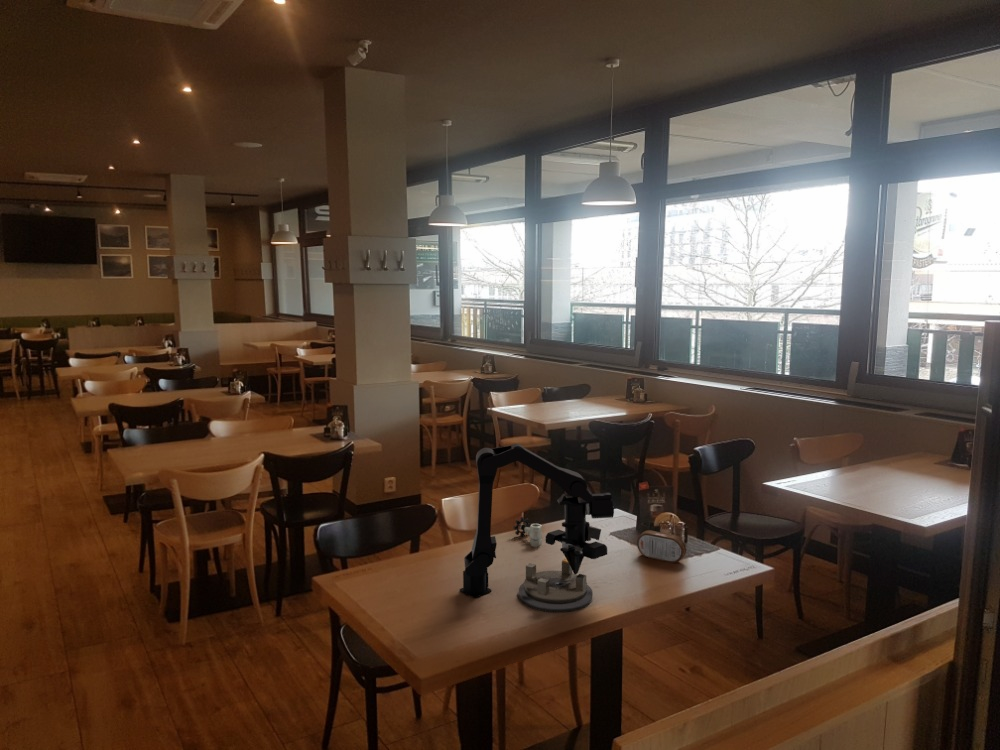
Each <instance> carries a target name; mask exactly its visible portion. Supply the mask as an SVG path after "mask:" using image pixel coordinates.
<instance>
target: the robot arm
mask: <svg viewBox="0 0 1000 750" xmlns="http://www.w3.org/2000/svg"><path fill="white" fill-rule="evenodd" d="M475 462H476V470H477V476H478V496H477V497H478V500H477V501H478V502H477V519H476V521H477V522H476V532H475V535H474V538H473V543H472V547H471V551H469V553H467V555H466V556H464V570H463V571H462V585H463V587H461V588H459V592H461V593H463V594H464V595H467V596H469V597H471V598H474V599H476V598H478V597H481V596H483V595H486V594H488V593H491V592H492V588H489V573H488V568H490V567H491V565H493V563H494V559H497V555H496V549H497V539H496V536H495V535H494V536H492V535H491V529H492V528H491V526H492V510H493V509H492V507H493V506H492V505H493V488H494V482H495V479H496V475H497V472H498V468H503V467H505V466H507V465H510V464H513V463H515V462H519V463H521V464H523V466H526V467H528V468H529V469H532V470H533V471H535V472H536V473H538V474H540V475H542V476H544V477H546V478H548V479H549V480H551V481H553V482H554V483H555V484H556V485H557V486H558V487H560V489H562V490H563V491H564V492H565V493H566V494H567V495H569V496H566V494H565V493H562V494H561V496H560V497H559V498H557V502H558V504H559V505H562V506H564V521H563V522H561V527H563V528H564V530H563V529H562V530H561V529H555V530H553V531H549V532H547V534H546V535H545V544H548V545H550V546H553V545H555V543H556V542H559V543H561V548H560V549H559V550H560V552H562V554H563V555H564V557H565V559H567V561H568V563H569V565H570V567H571V569H572V573H573V574H576V575H578V574H579V571H580V568H581V565H582V563H583V560H584V558H588V559H590V560H596V559H599V558H602V557H604V556H607V555H608V546H607V544H605V543H603V542H598V541H600V538H601V532H602V529H601V528H598V527H596V526H592V525H590V522H589V521H587V520H586V518H587V516H590V518H591V519H611V518H614V515H615V507H614V504H613V498H612V494H611V493H610V492H603V493H592V492H591V490H590V489H589V488H588V484H587V481H586V480H585V478H584V477H583V476H582V475H581V474H580V473H579V472H577V471H573V470H571V469H568V468H564V467H560V466H558V465H555V464H554V463H552V462H551V461H548V460H547V459H545V458H543V457H541V456H539V455H538V454H536V453H535V452H533V451H531V450H529V449H528V448H526V447H525V446H523V445H522V444H520V443H514V444H511V445H505V446H497V447H494V448H490V447H483V448H480V449H479V450H478V451H477V453H476V455H475ZM586 514H587V516H586ZM592 539H594V540H596V541H593V542H591V541H592ZM589 542H590V543H589Z"/></svg>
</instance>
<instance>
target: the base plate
mask: <svg viewBox="0 0 1000 750" xmlns="http://www.w3.org/2000/svg"><path fill="white" fill-rule="evenodd" d="M593 598H594V597H593V589H592V587H591V586H590V585H589V584H587V594H586V595H585V597H583V598H582V599H580V600H578V601H575V602H571V603H564V604H552V603H544V602H540V601H537V600H534V599H532V598H530V597H529V596H527V595H526V593H525V591H524V582H522V583H521V584H520V586H519V588H518V599H519V600H520V601H521V602H522V604H524V605H526V606H527V607H529V608H532V609H534V610H538V611H540V612H541V611H542V612H546V613H568V612H574V611H578V610H581V609H584V608H585V607H588V606H589V605H590V604H591V602H592V601H593Z"/></svg>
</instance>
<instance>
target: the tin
mask: <svg viewBox="0 0 1000 750" xmlns="http://www.w3.org/2000/svg"><path fill="white" fill-rule="evenodd" d="M636 541H637V542H636V545H637V550H638V551H639V552H640V554H641V555H643V556H644V557H646V558H647V557H648V559H652V560H656V561H661V562H665V561H667V563H670V562H671V564H675V563H678V562H680V561H681V560H682V559H683V558H684V557H685V555H686V553H687V547H686V544H685V542H684V540H682V538H680V537H679V536H678V535H675V534H671V533H667V532H660V531H655V530H649V529H648V530H647V529H646V530H644V531H642V532H641V534H640V535H639V536H638V538H637V540H636Z"/></svg>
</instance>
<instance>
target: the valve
mask: <svg viewBox="0 0 1000 750" xmlns="http://www.w3.org/2000/svg"><path fill="white" fill-rule="evenodd" d="M519 519H520V520H518V519H516V520H515V523H516V525H513V527H512V528H513V530H515V533H514V534H515V535H516V536H519V535H520V536H521V537H525V533H526V535H527V536H528V537H529V539H530V540H529V545H530V546H532V547H540V546H542V545H543V544H542V543H543V541H542V539H543V532H542V530H543V526H542V524H540V523H529V522H530V519H528V517H527V518H525V517H523V516H521V517H520V518H519ZM523 523H524V524H523ZM519 528H520V529H519Z"/></svg>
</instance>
